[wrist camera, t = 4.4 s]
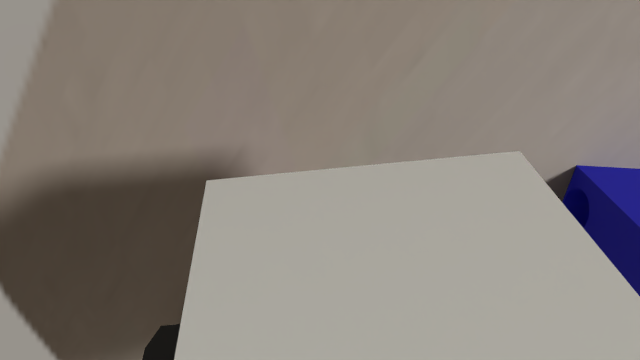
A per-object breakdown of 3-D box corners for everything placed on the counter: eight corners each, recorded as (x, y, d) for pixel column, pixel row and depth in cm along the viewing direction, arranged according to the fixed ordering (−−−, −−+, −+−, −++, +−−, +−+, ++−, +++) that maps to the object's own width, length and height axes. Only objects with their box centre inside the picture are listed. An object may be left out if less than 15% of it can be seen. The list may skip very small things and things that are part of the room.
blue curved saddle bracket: (576, 392, 25) (655, 527, 20) (485, 392, 25) (542, 532, 20) (690, 169, 19) (844, 281, 14) (574, 163, 19) (690, 276, 14)
